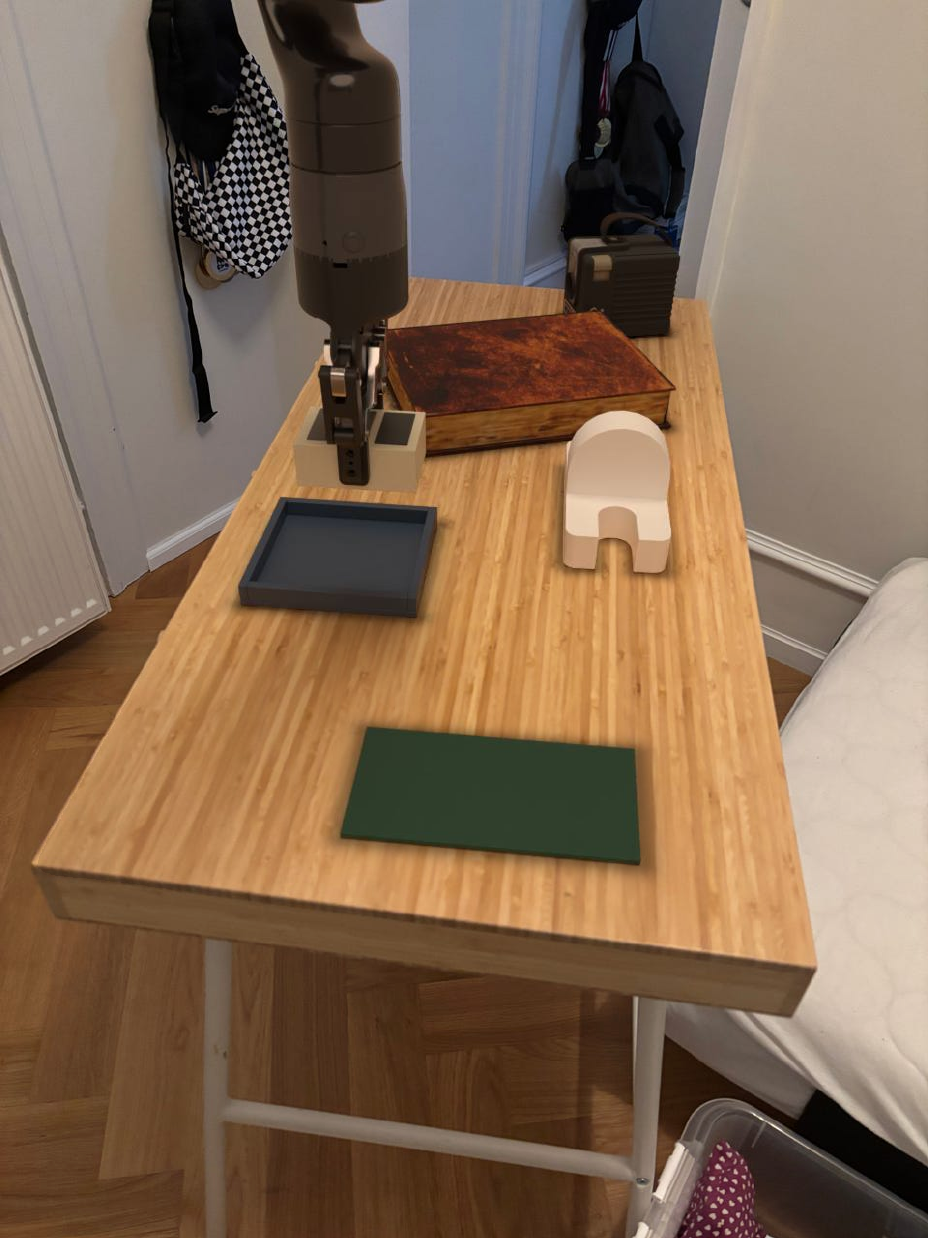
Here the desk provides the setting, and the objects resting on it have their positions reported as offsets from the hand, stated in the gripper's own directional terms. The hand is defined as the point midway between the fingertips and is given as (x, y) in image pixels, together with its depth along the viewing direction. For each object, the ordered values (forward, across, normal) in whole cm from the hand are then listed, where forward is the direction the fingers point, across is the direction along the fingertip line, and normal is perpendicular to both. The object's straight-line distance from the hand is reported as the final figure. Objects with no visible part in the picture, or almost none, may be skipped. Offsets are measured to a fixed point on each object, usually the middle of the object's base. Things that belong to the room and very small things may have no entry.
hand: (362, 459), depth 72 cm
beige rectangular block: (+1, 0, 0) cm, 1 cm away
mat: (+15, +19, +12) cm, 27 cm away
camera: (+15, -67, +23) cm, 73 cm away
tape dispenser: (+15, -18, +21) cm, 32 cm away
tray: (+15, -7, -4) cm, 17 cm away
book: (+15, -44, +11) cm, 47 cm away
